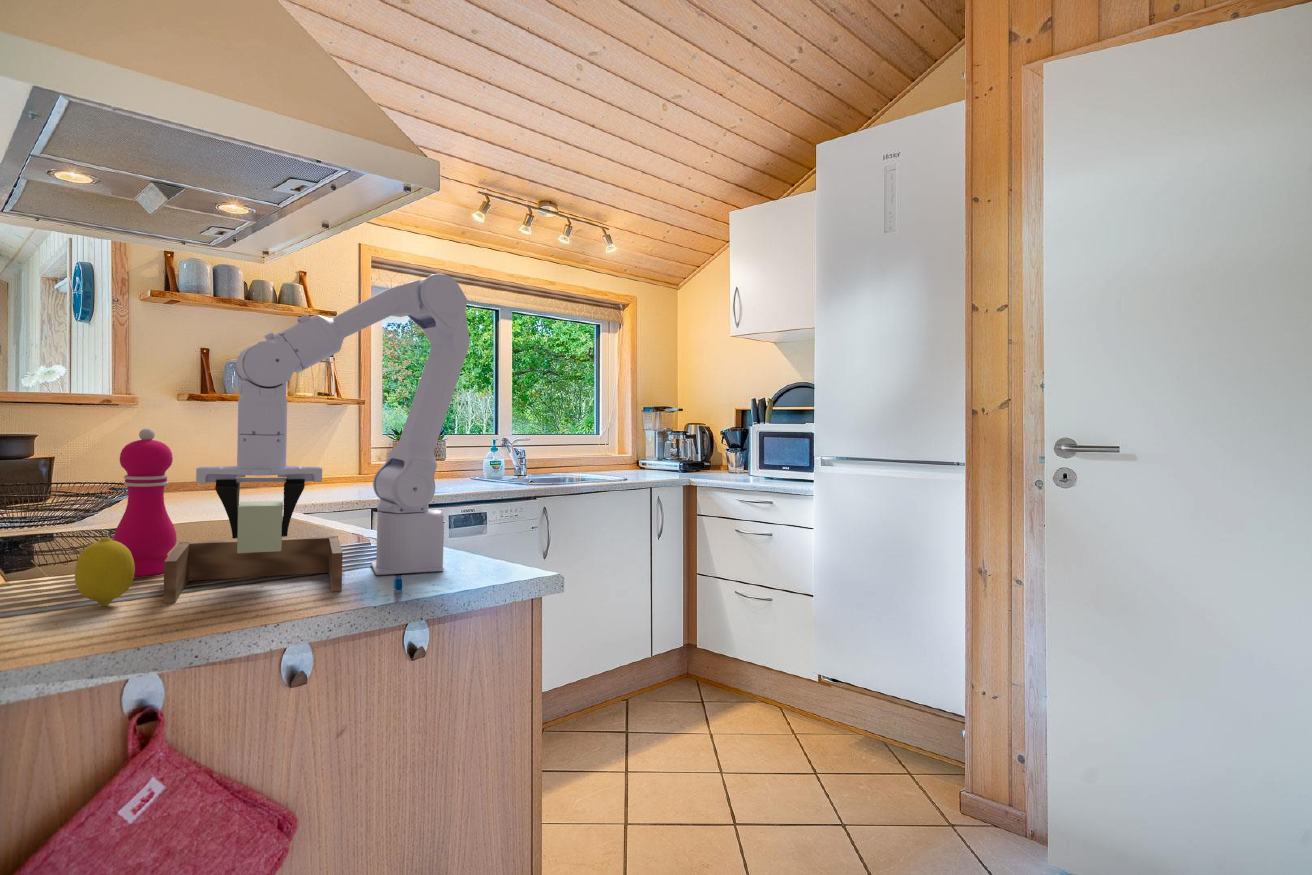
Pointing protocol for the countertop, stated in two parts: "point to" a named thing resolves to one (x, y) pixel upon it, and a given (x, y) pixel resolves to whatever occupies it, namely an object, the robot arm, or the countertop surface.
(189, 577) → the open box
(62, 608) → the countertop surface
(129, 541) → the pepper mill
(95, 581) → the lemon
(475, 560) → the countertop surface
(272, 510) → the block
